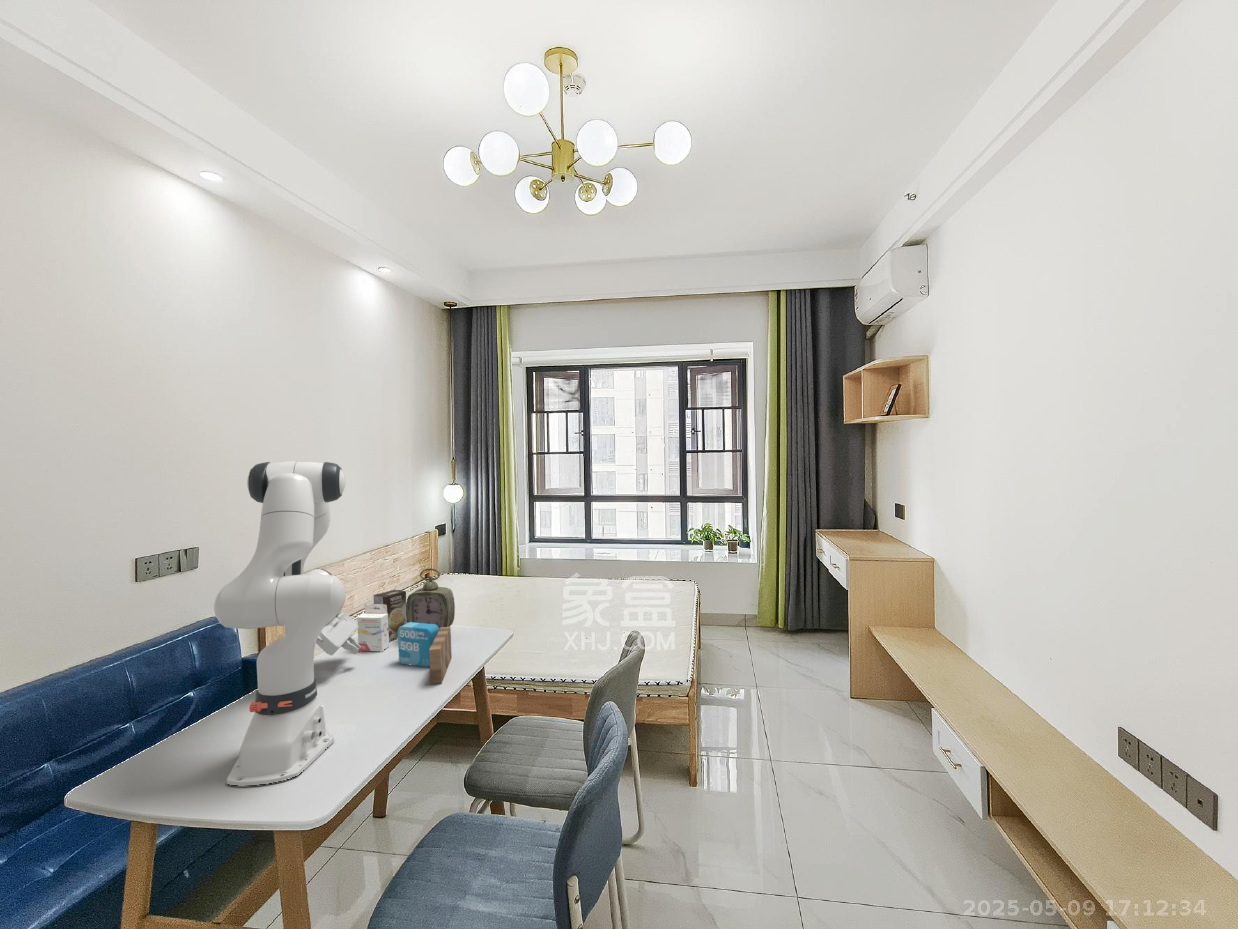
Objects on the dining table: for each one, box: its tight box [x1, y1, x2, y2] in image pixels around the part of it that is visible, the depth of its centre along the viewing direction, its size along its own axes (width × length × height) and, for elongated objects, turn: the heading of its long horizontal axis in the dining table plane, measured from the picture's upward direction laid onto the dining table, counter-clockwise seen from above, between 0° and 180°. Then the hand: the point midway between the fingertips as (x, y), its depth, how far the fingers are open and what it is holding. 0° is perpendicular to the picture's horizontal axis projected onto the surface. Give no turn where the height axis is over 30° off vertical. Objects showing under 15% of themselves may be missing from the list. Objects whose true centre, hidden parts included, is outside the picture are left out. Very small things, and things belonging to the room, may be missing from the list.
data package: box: [397, 622, 439, 668], centre depth 180 cm, size 12×4×12 cm, turn 72°
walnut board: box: [429, 626, 453, 685], centre depth 173 cm, size 20×3×10 cm, turn 8°
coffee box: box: [372, 589, 407, 642], centre depth 204 cm, size 9×6×16 cm
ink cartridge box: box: [357, 603, 390, 652], centre depth 193 cm, size 9×5×15 cm, turn 84°
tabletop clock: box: [406, 567, 456, 630], centre depth 201 cm, size 14×9×25 cm, turn 88°
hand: (358, 650), depth 177 cm, fingers closed
